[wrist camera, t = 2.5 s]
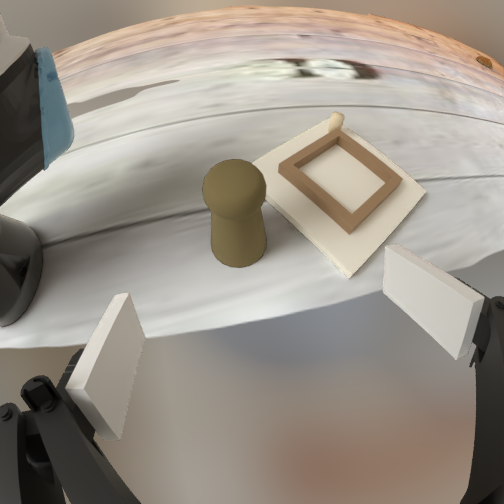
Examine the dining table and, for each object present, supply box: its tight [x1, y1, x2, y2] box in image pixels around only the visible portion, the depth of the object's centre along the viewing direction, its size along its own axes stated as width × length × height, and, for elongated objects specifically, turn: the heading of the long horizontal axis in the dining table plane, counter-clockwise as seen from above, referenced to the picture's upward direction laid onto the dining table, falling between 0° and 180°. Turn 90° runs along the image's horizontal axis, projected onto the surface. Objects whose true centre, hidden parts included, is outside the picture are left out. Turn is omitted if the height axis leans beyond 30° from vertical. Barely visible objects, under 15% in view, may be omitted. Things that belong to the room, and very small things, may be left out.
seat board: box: [252, 112, 426, 278], centre depth 33 cm, size 18×18×4 cm
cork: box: [202, 159, 267, 268], centre depth 27 cm, size 6×6×11 cm
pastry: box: [476, 56, 492, 69], centre depth 69 cm, size 9×7×4 cm
